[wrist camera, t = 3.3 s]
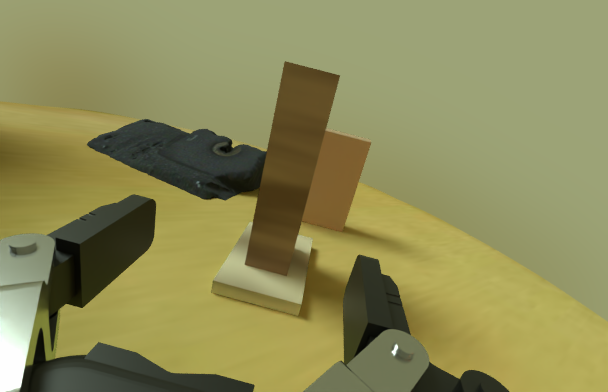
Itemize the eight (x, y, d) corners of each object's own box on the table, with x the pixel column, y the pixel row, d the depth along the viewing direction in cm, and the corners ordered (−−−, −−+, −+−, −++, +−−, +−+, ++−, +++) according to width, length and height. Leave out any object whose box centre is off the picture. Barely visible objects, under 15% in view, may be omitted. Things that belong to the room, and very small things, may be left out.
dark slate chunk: (170, 135, 52) (172, 107, 50) (284, 179, 46) (291, 148, 44) (75, 147, 39) (73, 108, 37) (219, 211, 32) (225, 168, 30)
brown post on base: (298, 316, 21) (367, 82, 15) (211, 292, 21) (248, 51, 15) (310, 247, 29) (357, 80, 23) (248, 230, 29) (281, 61, 24)
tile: (342, 232, 33) (371, 142, 30) (270, 212, 34) (290, 121, 30) (342, 224, 35) (369, 139, 31) (273, 206, 35) (293, 119, 32)
